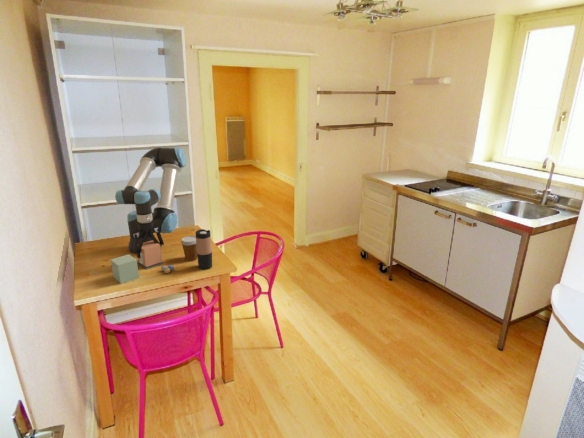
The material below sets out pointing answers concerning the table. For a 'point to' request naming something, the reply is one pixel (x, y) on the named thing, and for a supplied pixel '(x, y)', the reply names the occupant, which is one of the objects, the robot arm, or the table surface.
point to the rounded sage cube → (124, 268)
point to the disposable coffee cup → (189, 248)
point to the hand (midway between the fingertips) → (150, 260)
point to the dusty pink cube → (151, 253)
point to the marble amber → (167, 270)
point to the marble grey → (163, 268)
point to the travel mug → (204, 249)
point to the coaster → (150, 266)
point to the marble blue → (171, 267)
